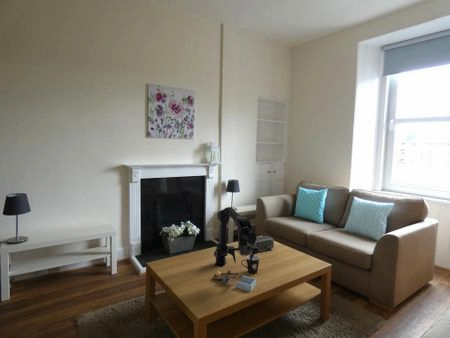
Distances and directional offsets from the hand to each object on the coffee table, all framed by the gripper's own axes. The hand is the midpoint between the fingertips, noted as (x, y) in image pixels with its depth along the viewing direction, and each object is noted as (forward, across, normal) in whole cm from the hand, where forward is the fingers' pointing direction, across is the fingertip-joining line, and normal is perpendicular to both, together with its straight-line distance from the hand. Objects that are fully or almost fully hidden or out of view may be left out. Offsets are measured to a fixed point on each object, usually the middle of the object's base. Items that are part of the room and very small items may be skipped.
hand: (242, 263), depth 169 cm
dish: (+13, +2, -4) cm, 13 cm away
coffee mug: (+13, +8, +15) cm, 21 cm away
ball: (+10, -14, +6) cm, 18 cm away
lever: (+11, -11, 0) cm, 16 cm away
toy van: (+13, +21, +51) cm, 57 cm away
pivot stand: (+12, -9, +3) cm, 16 cm away
